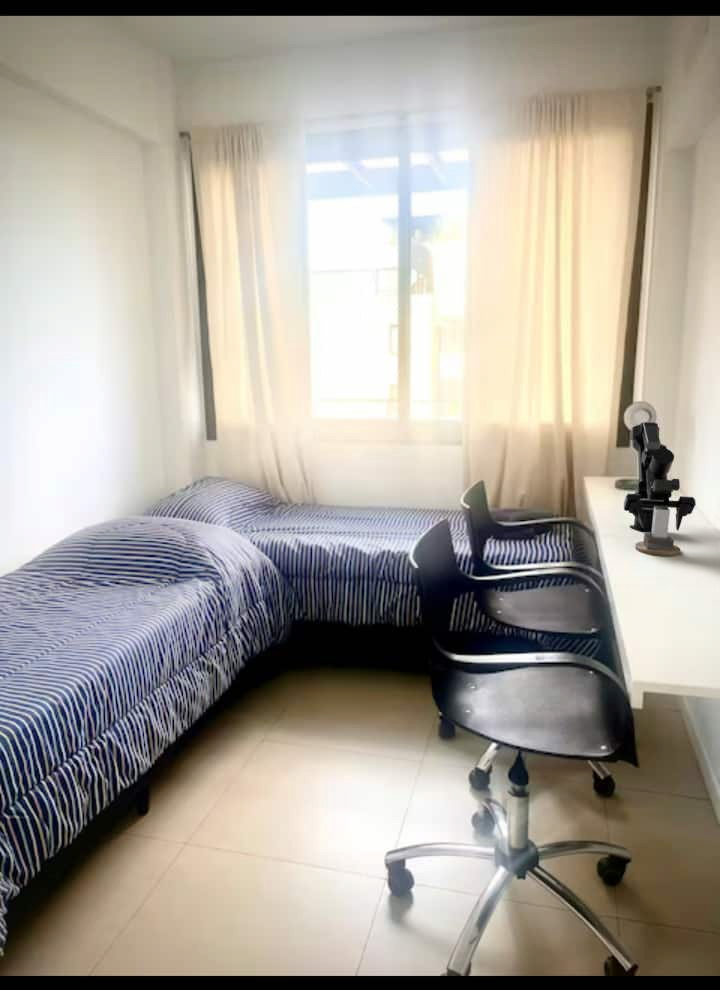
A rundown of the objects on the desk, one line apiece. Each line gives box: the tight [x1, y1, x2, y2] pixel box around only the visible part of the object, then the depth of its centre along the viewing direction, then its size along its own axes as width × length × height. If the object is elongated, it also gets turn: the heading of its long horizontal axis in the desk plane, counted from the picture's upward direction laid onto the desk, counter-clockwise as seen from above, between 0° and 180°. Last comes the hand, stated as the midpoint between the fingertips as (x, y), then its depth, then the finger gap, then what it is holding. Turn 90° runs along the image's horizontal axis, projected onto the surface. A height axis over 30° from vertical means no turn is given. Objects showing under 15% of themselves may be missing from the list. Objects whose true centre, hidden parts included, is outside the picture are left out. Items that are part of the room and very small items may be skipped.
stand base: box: [635, 532, 681, 557], centre depth 200 cm, size 12×12×4 cm
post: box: [650, 507, 671, 539], centre depth 199 cm, size 4×4×11 cm
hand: (660, 528), depth 197 cm, fingers open, 9 cm apart
